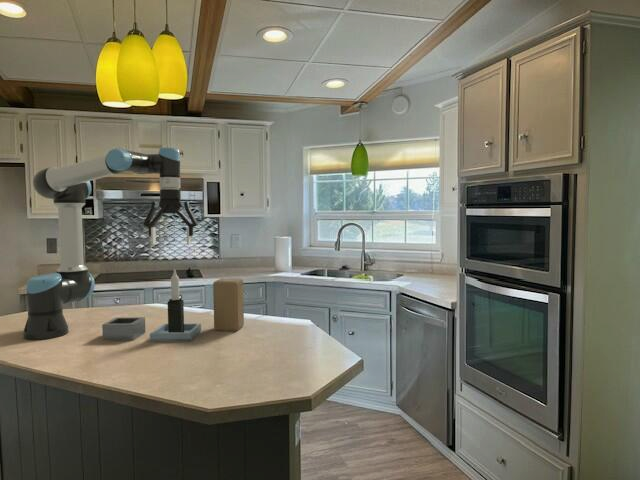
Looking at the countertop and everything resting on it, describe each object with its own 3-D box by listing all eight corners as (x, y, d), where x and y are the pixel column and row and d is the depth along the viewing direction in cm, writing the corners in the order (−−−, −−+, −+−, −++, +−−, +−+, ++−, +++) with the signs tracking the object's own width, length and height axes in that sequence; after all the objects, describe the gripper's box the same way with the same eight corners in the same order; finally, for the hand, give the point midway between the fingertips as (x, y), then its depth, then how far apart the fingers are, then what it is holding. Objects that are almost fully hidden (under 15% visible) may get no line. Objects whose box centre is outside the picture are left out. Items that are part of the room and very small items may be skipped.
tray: (150, 341, 168) (149, 333, 168) (164, 330, 183) (163, 323, 183) (190, 341, 168) (190, 333, 168) (201, 330, 183) (201, 323, 183)
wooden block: (244, 325, 191) (243, 278, 190) (237, 331, 181) (237, 281, 180) (221, 325, 192) (220, 277, 191) (213, 331, 182) (212, 281, 181)
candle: (180, 335, 173) (179, 269, 172) (167, 335, 173) (165, 270, 172) (185, 332, 178) (183, 268, 177) (172, 332, 178) (170, 268, 177)
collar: (102, 340, 170) (102, 324, 170) (116, 332, 182) (116, 317, 181) (133, 340, 170) (133, 324, 170) (145, 332, 181) (145, 317, 181)
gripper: (133, 188, 171) (134, 245, 172) (200, 188, 170) (200, 245, 172) (141, 189, 178) (142, 243, 180) (205, 189, 178) (206, 244, 179)
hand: (171, 244), depth 176 cm, fingers open, 13 cm apart
